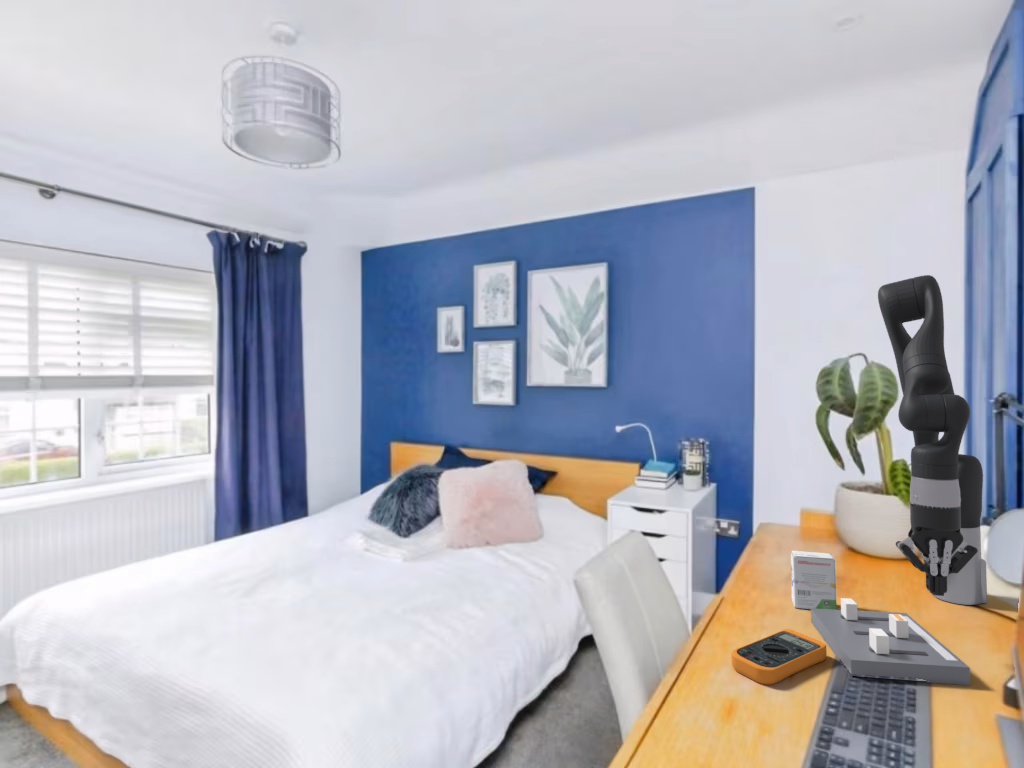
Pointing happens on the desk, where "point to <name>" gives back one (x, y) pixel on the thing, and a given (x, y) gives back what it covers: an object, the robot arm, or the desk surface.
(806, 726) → the desk surface
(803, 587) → the ink box
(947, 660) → the slider switch panel
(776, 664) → the multimeter
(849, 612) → the block
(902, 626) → the breaker
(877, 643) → the breaker
